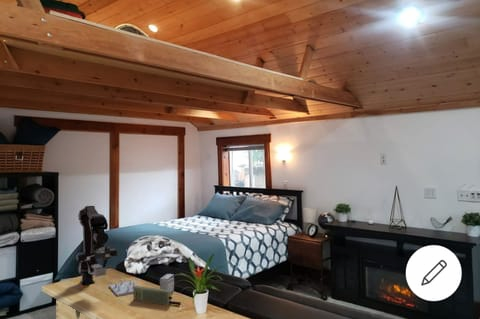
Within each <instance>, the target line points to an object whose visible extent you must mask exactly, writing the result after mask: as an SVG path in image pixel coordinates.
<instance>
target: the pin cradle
mask: <svg viewBox="0 0 480 319" xmlns="http://www.w3.org/2000/svg"><path fill="white" fill-rule="evenodd" d="M134 286H138V285H137V284H136V282H134V281H132V279H131V278H130V279H129V280H128V281H123V278H121V279H120V282H119V283H118V282H117V281H114V283H113V284H109V285H108V287H109V289H110V290H111V291H112V292H113V293H114V294H115V295H116V296H117V297H120V296H125V295H129V294H133V287H134Z"/></svg>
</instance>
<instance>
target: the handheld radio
mask: <svg viewBox="0 0 480 319" xmlns="http://www.w3.org/2000/svg"><path fill="white" fill-rule="evenodd" d="M170 292H171V290H164V289H160V288H156V287H147V286H139V285H137V286H134V287H133V293H132V294H133V296H132V297H133V301H135V302H136V301H137V302H144V303H145V302H146V303H151V304H158V305H165V306H169V305H177V306H181V302H180V301H173V300H172V299H173V297H172V296H171V295H172V294H173V292H172V293H170Z"/></svg>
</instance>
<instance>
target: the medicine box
mask: <svg viewBox="0 0 480 319" xmlns="http://www.w3.org/2000/svg"><path fill="white" fill-rule="evenodd" d="M159 289H164V290H171V292H170V293H172V294H173V292H174V291H175V275H174V273H173V274H172V273H166V274H164V275H163V276H162V277H160V278H159Z"/></svg>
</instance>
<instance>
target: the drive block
mask: <svg viewBox="0 0 480 319" xmlns="http://www.w3.org/2000/svg"><path fill="white" fill-rule="evenodd" d="M91 268H92V273H90V270H89V267H88V273H90V274H92V275H93V277H95V278H97V277H102V276H105V275H107V267H106V266H105V267H104V266H102V264H99V263H98V264H95V265H91Z"/></svg>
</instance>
